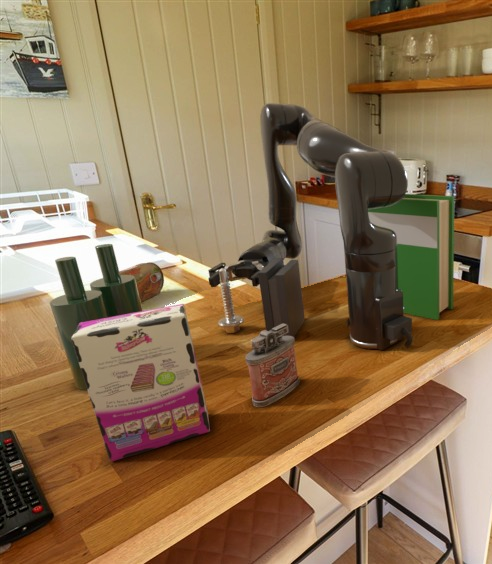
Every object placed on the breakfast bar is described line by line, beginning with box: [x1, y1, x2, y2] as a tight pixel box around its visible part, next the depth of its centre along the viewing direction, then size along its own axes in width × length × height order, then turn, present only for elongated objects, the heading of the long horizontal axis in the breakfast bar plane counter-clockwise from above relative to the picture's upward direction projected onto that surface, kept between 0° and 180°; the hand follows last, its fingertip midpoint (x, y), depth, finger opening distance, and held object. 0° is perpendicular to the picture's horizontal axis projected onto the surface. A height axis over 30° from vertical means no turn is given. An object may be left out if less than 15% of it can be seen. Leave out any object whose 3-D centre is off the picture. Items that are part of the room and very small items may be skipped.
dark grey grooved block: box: [258, 258, 306, 338], centre depth 81 cm, size 4×10×14 cm, turn 178°
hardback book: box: [368, 193, 455, 321], centre depth 90 cm, size 18×7×24 cm, turn 58°
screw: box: [217, 268, 245, 334], centre depth 82 cm, size 13×5×5 cm
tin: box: [119, 262, 165, 303], centre depth 101 cm, size 15×3×8 cm, turn 168°
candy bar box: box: [71, 303, 211, 462], centre depth 51 cm, size 11×5×16 cm, turn 117°
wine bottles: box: [49, 243, 144, 391], centre depth 68 cm, size 14×7×20 cm, turn 178°
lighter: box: [244, 324, 301, 408], centre depth 61 cm, size 8×3×10 cm, turn 148°
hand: (232, 282), depth 84 cm, fingers open, 8 cm apart
